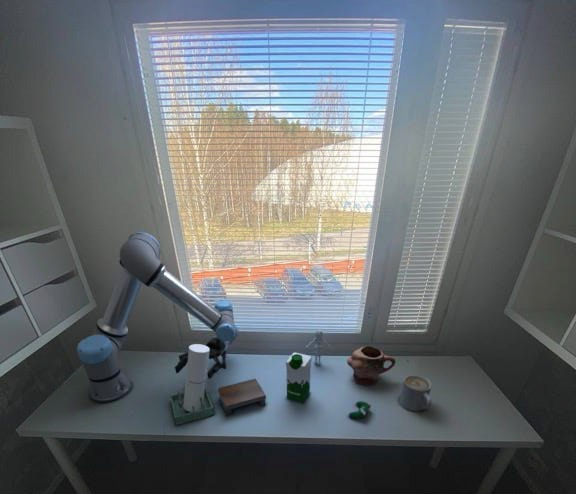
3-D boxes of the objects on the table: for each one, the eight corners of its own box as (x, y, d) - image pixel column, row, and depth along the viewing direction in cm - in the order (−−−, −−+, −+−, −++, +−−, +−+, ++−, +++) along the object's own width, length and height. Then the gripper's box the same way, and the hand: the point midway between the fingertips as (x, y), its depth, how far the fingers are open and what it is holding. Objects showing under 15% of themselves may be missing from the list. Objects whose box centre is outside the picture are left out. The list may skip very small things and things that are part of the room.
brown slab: (219, 397, 131) (217, 388, 128) (256, 387, 136) (255, 378, 134) (226, 416, 122) (225, 406, 119) (266, 405, 127) (265, 395, 124)
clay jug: (386, 370, 147) (392, 343, 139) (395, 386, 137) (401, 359, 129) (343, 371, 146) (346, 344, 138) (348, 387, 136) (351, 360, 128)
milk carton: (283, 399, 130) (283, 357, 119) (293, 386, 137) (293, 346, 126) (304, 405, 127) (305, 363, 116) (312, 392, 134) (314, 351, 123)
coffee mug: (395, 395, 132) (399, 375, 126) (418, 393, 133) (423, 373, 127) (409, 418, 121) (415, 397, 115) (434, 415, 122) (441, 395, 116)
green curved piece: (353, 423, 121) (365, 418, 117) (347, 415, 121) (359, 410, 117) (362, 409, 128) (374, 404, 124) (356, 401, 127) (368, 396, 123)
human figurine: (329, 362, 152) (332, 328, 142) (330, 366, 149) (333, 332, 139) (304, 362, 152) (305, 328, 142) (304, 367, 149) (305, 332, 139)
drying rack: (171, 402, 129) (167, 388, 125) (206, 393, 133) (204, 379, 130) (176, 425, 118) (172, 410, 114) (214, 414, 123) (212, 400, 119)
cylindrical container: (196, 414, 121) (203, 354, 111) (179, 408, 122) (185, 348, 112) (205, 405, 128) (213, 347, 118) (189, 399, 129) (195, 342, 118)
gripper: (245, 357, 138) (223, 386, 121) (192, 349, 143) (165, 376, 126) (243, 341, 133) (221, 369, 116) (189, 334, 139) (161, 359, 122)
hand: (192, 373), depth 121 cm, fingers open, 13 cm apart
